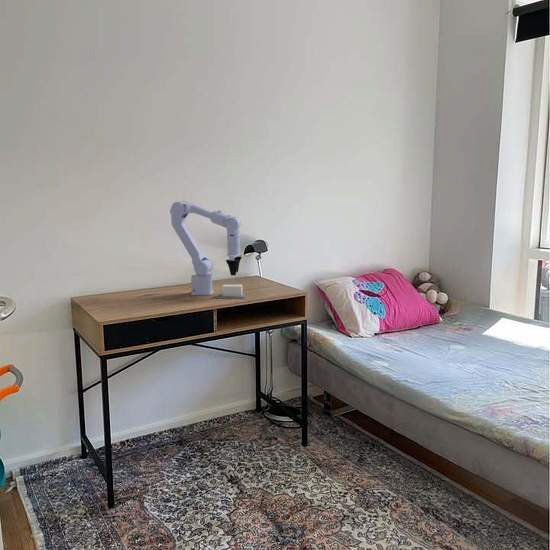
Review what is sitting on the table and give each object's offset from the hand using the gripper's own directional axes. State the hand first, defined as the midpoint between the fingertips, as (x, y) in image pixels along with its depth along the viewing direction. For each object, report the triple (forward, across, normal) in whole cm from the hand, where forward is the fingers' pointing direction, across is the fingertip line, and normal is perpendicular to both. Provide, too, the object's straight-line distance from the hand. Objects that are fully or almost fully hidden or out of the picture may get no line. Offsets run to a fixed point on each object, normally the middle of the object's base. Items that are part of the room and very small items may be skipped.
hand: (234, 273), depth 249 cm
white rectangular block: (+9, -5, 0) cm, 10 cm away
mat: (+9, -5, +1) cm, 11 cm away
